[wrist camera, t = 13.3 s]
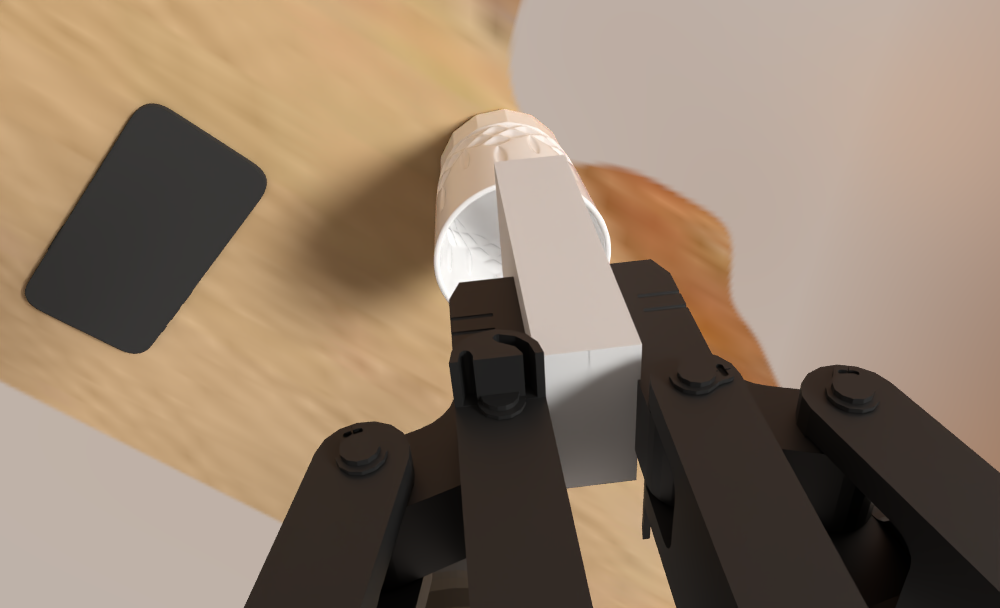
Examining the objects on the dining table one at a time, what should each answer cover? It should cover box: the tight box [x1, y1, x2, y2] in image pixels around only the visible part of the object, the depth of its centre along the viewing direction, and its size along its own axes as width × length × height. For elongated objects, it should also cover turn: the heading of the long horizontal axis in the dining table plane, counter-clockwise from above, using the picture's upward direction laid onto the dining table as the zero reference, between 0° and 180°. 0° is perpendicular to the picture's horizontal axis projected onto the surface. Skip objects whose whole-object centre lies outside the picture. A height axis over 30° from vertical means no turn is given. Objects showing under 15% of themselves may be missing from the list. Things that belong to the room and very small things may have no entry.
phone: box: [25, 104, 267, 354], centre depth 43 cm, size 7×1×15 cm
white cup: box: [434, 109, 611, 302], centre depth 38 cm, size 8×8×10 cm
